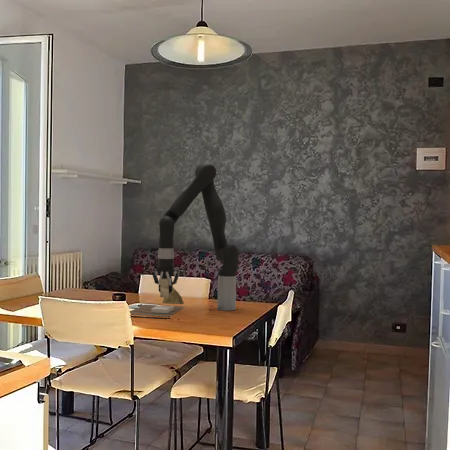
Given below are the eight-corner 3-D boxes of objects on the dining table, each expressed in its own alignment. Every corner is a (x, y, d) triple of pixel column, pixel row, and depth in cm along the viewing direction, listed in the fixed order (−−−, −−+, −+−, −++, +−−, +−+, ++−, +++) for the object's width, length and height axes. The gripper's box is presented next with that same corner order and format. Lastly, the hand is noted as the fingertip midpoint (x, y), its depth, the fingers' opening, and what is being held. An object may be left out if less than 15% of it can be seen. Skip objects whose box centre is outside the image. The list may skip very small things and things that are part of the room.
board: (144, 306, 274) (144, 304, 274) (185, 309, 269) (185, 306, 269) (123, 316, 246) (123, 314, 246) (168, 319, 242) (168, 316, 242)
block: (162, 295, 261) (163, 277, 261) (170, 296, 260) (170, 277, 260) (160, 297, 257) (160, 278, 257) (168, 297, 256) (168, 278, 256)
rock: (189, 301, 280) (176, 296, 287) (183, 289, 276) (170, 284, 282) (176, 315, 275) (163, 310, 281) (170, 303, 270) (157, 298, 277)
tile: (158, 305, 261) (151, 308, 251) (173, 306, 259) (167, 309, 249) (157, 309, 261) (151, 312, 251) (173, 310, 259) (167, 313, 249)
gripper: (182, 257, 261) (181, 292, 261) (154, 256, 263) (154, 291, 264) (177, 258, 253) (177, 294, 254) (149, 257, 256) (148, 293, 256)
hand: (165, 292), depth 259 cm, fingers closed on block, 4 cm apart
